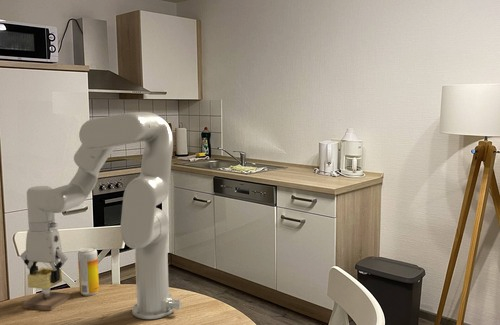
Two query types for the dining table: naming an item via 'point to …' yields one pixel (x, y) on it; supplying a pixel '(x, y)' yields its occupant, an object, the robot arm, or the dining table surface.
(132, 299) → the dining table surface
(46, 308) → the keeper block
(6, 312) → the dining table surface
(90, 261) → the beer can
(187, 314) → the dining table surface
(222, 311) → the dining table surface
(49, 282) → the square wooden frame
